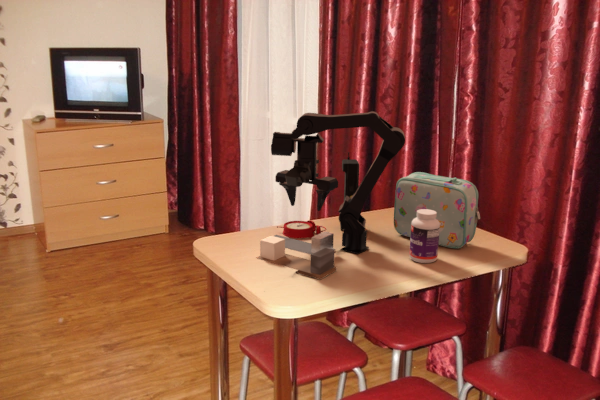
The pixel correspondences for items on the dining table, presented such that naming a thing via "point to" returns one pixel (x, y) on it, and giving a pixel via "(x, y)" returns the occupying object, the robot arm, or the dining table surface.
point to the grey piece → (317, 243)
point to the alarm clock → (301, 229)
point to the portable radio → (350, 178)
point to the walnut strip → (309, 263)
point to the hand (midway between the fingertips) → (305, 208)
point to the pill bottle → (424, 237)
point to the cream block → (272, 248)
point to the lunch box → (438, 206)
